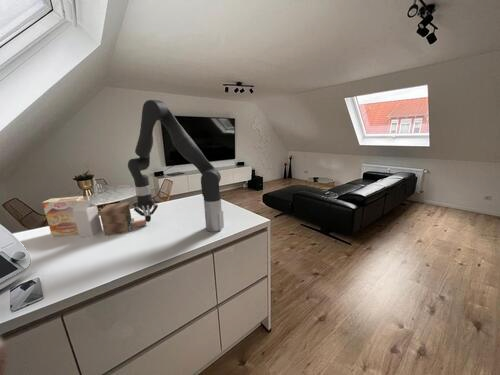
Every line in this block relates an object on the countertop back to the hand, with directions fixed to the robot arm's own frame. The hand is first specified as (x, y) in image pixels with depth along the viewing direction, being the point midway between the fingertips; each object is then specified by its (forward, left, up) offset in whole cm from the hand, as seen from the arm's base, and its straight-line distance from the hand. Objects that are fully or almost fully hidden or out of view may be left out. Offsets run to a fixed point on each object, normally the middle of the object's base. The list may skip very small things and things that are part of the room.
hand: (148, 221), depth 117 cm
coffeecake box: (+36, +15, -2) cm, 40 cm away
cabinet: (+13, +8, -2) cm, 15 cm away
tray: (+9, +6, -2) cm, 11 cm away
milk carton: (+24, +15, -2) cm, 28 cm away
